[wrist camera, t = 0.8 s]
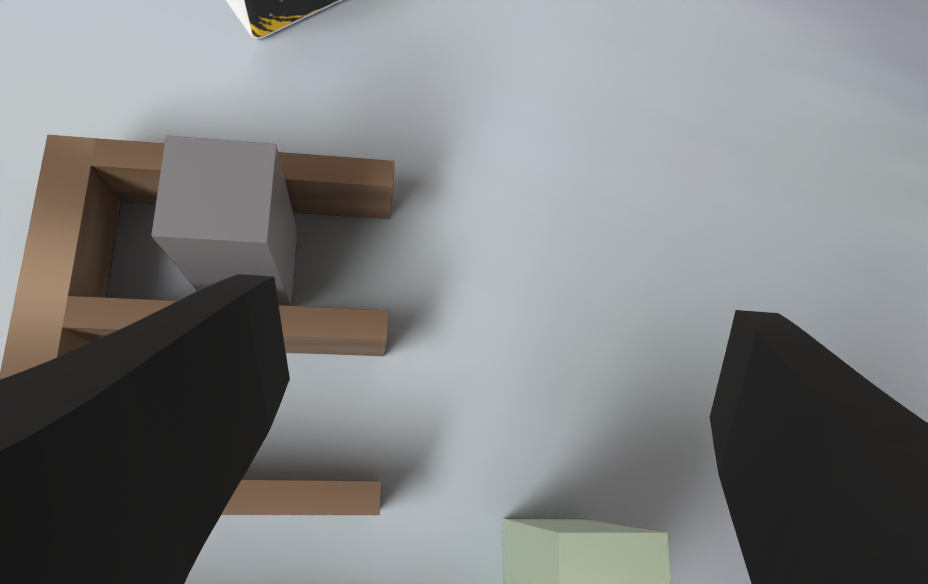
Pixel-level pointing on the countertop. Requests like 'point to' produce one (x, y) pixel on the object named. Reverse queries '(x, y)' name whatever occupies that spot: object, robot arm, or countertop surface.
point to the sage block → (583, 553)
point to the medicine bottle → (274, 13)
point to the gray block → (225, 212)
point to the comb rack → (94, 316)
